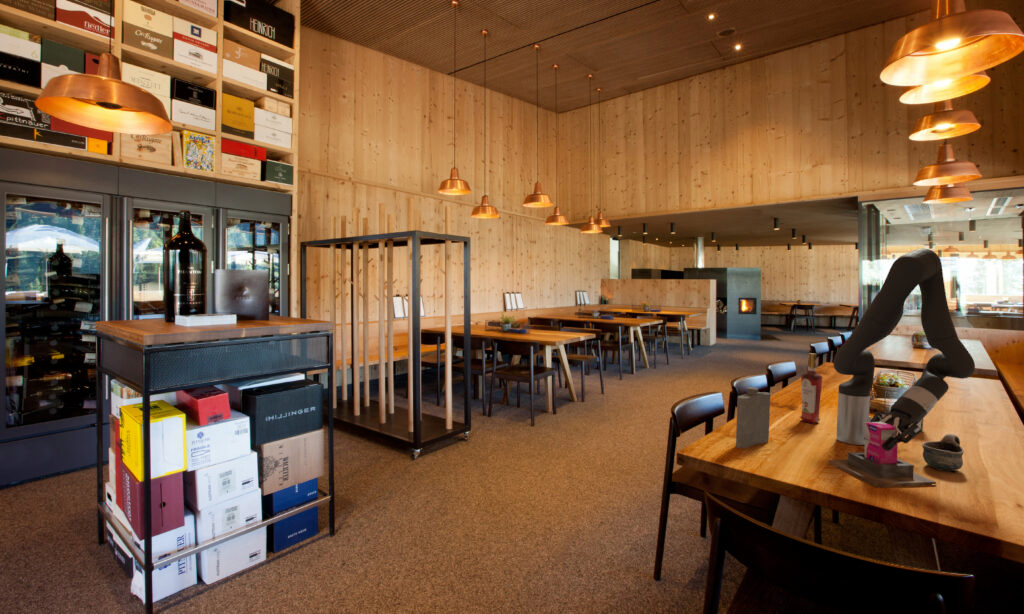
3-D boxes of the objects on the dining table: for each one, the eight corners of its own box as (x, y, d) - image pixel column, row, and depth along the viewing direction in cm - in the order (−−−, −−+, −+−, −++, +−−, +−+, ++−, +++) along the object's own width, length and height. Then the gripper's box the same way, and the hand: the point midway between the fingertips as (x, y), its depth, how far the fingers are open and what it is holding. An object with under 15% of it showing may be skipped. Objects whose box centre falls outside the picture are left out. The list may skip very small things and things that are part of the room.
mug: (916, 466, 150) (917, 435, 149) (929, 458, 157) (931, 428, 156) (957, 477, 142) (959, 443, 141) (969, 468, 149) (971, 436, 148)
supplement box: (863, 459, 146) (864, 421, 146) (881, 458, 147) (882, 421, 146) (879, 466, 141) (880, 427, 140) (898, 465, 141) (899, 426, 141)
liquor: (795, 420, 199) (798, 353, 198) (807, 418, 202) (809, 352, 201) (812, 425, 192) (815, 355, 191) (824, 423, 196) (827, 354, 194)
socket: (881, 461, 154) (882, 447, 154) (935, 485, 136) (936, 469, 136) (828, 463, 152) (829, 449, 152) (876, 487, 134) (877, 471, 134)
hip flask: (742, 449, 164) (744, 391, 163) (731, 445, 168) (733, 389, 167) (770, 442, 172) (772, 386, 171) (759, 438, 176) (761, 384, 174)
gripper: (885, 390, 151) (848, 429, 150) (929, 402, 136) (888, 444, 136) (900, 407, 151) (863, 445, 151) (945, 420, 137) (905, 462, 137)
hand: (875, 445), depth 143 cm, fingers closed on supplement box, 5 cm apart
